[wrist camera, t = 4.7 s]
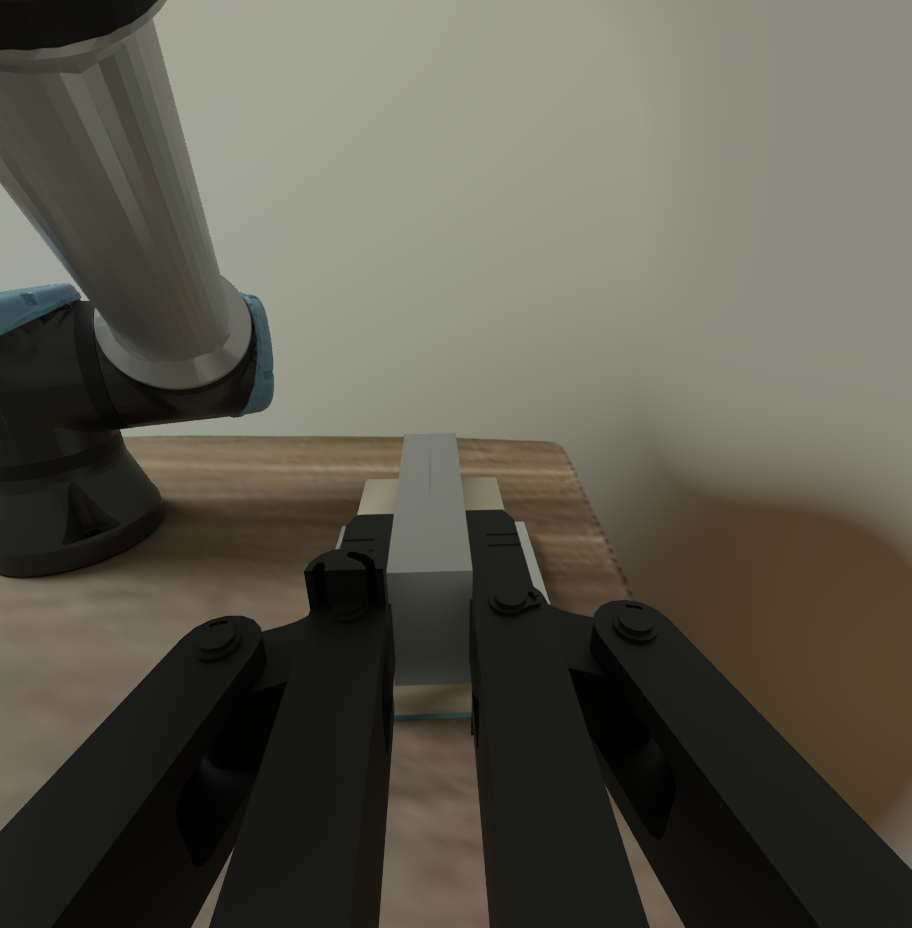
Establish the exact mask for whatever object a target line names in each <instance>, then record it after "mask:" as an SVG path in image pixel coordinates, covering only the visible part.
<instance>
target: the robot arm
mask: <svg viewBox="0 0 912 928" xmlns="http://www.w3.org/2000/svg"><path fill="white" fill-rule="evenodd" d="M166 1H167V0H0V183H1V184H2V186H3V187H4V189H5V190H6V191H7V192H8V194H9V195H10V196H11V198H12V199H13V200H14V202H15V203H16V204H17V205H18V207H19V208H20V210H21V211H22V212H23V214H24V215H25V216H26V217H27V219H28V220H29V221H30V223H31V224H32V225H33V227H34V228H35V229H36V230H37V232H38V233H39V234H40V236H41V237H42V238H43V240H44V241H45V242H46V244H47V245H48V246H49V248H50V249H51V250H52V252H53V253H54V254H55V255H56V257H57V258H58V259H59V261H60V262H61V263H62V265H63V266H64V267H65V269H66V270H67V271H68V273H69V274H70V275H71V277H72V278H73V279H74V280H75V282H76V283H77V284H78V286H79V287H80V288H81V289H82V291H83V292H84V294H85V295H86V296H87V297H88V299H89V300H90V301H81V300H80V298H81V296H80V293H78V292H77V291H76V290H75V288H74V287H73V286H72V285H70V284H55V285H46V286H38V287H31V288H24V289H17V290H11V291H5V292H0V574H1V575H6V576H16V577H29V576H41V575H48V574H55V573H60V572H64V571H69V570H73V569H77V568H80V567H84V566H87V565H90V564H93V563H96V562H99V561H101V560H104V559H107V558H109V557H111V556H114V555H116V554H118V553H120V552H122V551H124V550H126V549H128V548H130V547H132V546H133V545H135V544H137V543H138V542H140V541H141V540H143V539H144V538H146V537H147V536H148V535H149V534H151V533H152V532H153V531H154V530H155V529H156V528H157V527H158V526H159V525H160V523H161V522H162V520H163V518H164V515H165V508H164V505H163V502H162V498H161V495H160V492H159V490H158V488H157V487H156V486H155V485H154V484H153V483H152V482H151V481H150V479H149V478H148V476H147V475H146V474H145V472H144V471H143V470H142V468H141V467H140V466H139V464H138V463H137V462H136V460H135V459H134V458H133V456H132V455H131V454H130V453H129V451H128V450H127V448H126V446H125V444H124V441H123V438H122V435H121V432H120V429H125V428H133V427H142V426H149V425H159V424H168V423H176V422H185V421H193V420H202V419H211V418H220V417H228V416H230V417H233V418H234V417H241V416H244V415H245V414H250V413H256V412H261V411H263V410H265V409H266V408H268V406H269V405H270V404H271V401H272V398H273V391H274V376H273V372H272V371H273V355H272V344H271V337H270V331H269V326H268V320H267V316H266V312H265V309H264V307H263V304H262V303H261V301H260V300H259V299H258V298H257V297H256V296H254V295H246V294H244V293H241V292H238V290H237V289H236V288H235V287H234V286H233V285H232V284H231V283H230V282H229V281H228V280H227V279H225V278H224V277H223V276H221V275H220V272H219V268H218V264H217V261H216V257H215V253H214V249H213V245H212V241H211V238H210V234H209V230H208V226H207V223H206V219H205V215H204V211H203V207H202V203H201V200H200V196H199V192H198V188H197V185H196V181H195V177H194V173H193V169H192V166H191V162H190V158H189V154H188V150H187V147H186V143H185V139H184V135H183V131H182V128H181V124H180V120H179V116H178V113H177V109H176V105H175V101H174V98H173V94H172V90H171V86H170V82H169V78H168V75H167V71H166V68H165V63H164V60H163V56H162V52H161V48H160V44H159V41H158V37H157V33H156V29H155V25H154V22H153V17H154V16H155V15H156V14H157V13H158V12H159V10H160V9H161V8H162V7H163V5H164V4H165V2H166ZM304 575H305V581H306V587H307V593H308V599H309V605H310V612H309V615H308V616H306V617H304V618H303V619H301V620H299V621H297V622H294V623H291V624H288V625H285V626H282V627H278V628H274V629H270V630H267V631H263V632H261V627H260V626H259V625H258V624H257V623H256V622H255V621H254V620H253V619H250V618H247V617H244V616H224V617H221V618H217V619H213V620H210V621H208V622H206V623H204V624H202V625H199V626H197V627H195V628H194V629H193V630H192V631H190V632H189V633H188V634H187V635H185V636H184V637H183V638H182V639H181V640H180V641H179V642H178V643H177V644H176V645H175V646H174V647H173V648H172V649H171V650H170V652H169V653H168V654H167V655H166V656H165V657H164V658H163V659H162V660H161V661H160V662H159V663H158V664H157V665H156V666H155V667H154V669H153V670H152V671H151V672H150V673H149V674H148V675H147V676H146V677H145V678H144V679H143V680H142V681H141V682H140V683H139V684H138V686H137V687H136V688H135V689H134V690H133V691H132V692H131V693H130V694H129V695H128V696H127V697H126V698H125V699H124V700H123V701H122V702H121V704H120V705H119V706H118V707H117V708H116V709H115V710H114V711H113V712H112V713H111V714H110V715H109V716H108V717H107V718H106V719H105V721H104V722H103V723H102V724H101V725H100V726H99V727H98V728H97V729H96V730H95V731H94V732H93V733H92V734H91V735H90V736H89V738H88V739H87V740H86V741H85V742H84V743H83V744H82V745H81V746H80V747H79V748H78V749H77V750H76V751H75V752H74V753H73V755H72V756H71V757H70V758H69V759H68V760H67V761H66V762H65V763H64V764H63V765H62V766H61V767H60V768H59V769H58V770H57V772H56V773H55V774H54V775H53V776H52V777H51V778H50V779H49V780H48V781H47V782H46V783H45V784H44V785H43V786H42V787H41V789H40V790H39V791H38V792H37V793H36V794H35V795H34V796H33V797H32V798H31V799H30V800H29V801H28V802H27V803H26V804H25V806H24V807H23V808H22V809H21V810H20V811H19V812H18V813H17V814H16V815H15V816H14V817H13V818H12V819H11V820H10V821H9V823H8V824H7V825H6V826H5V827H4V828H3V829H2V830H1V831H0V928H191V927H192V925H193V923H194V921H195V919H196V917H197V915H198V914H199V912H200V910H201V908H202V906H203V904H204V902H205V900H206V899H207V897H208V895H209V893H210V891H211V889H212V887H213V885H214V884H215V882H216V880H217V878H218V876H219V874H220V872H221V870H222V869H223V867H224V865H225V863H226V861H227V859H228V857H229V856H230V854H231V852H232V850H233V848H234V850H233V854H232V857H231V860H230V863H229V866H228V869H227V872H226V875H225V879H224V882H223V885H222V888H221V891H220V894H219V897H218V901H217V904H216V907H215V910H214V913H213V916H212V919H211V922H210V926H209V928H379V915H380V902H381V888H382V875H383V861H384V847H385V834H386V820H387V806H388V793H389V779H390V766H391V752H392V738H393V725H394V699H393V685H394V680H395V686H411V685H436V684H460V683H472V712H471V735H474V743H475V755H476V767H477V779H478V791H479V803H480V815H481V827H482V839H483V851H484V863H485V875H486V887H487V899H488V911H489V923H490V928H650V927H649V924H648V921H647V918H646V915H645V911H644V908H643V905H642V902H641V899H640V895H639V892H638V889H637V886H636V883H635V880H634V876H633V873H632V870H631V867H630V864H629V861H628V857H627V854H626V851H625V848H624V845H623V841H622V838H621V835H620V832H619V829H618V826H617V822H616V819H615V816H614V813H613V810H612V806H611V803H610V800H609V797H608V794H607V791H606V787H607V789H608V790H609V792H610V794H611V796H612V798H613V799H614V801H615V803H616V805H617V806H618V808H619V810H620V812H621V814H622V815H623V817H624V819H625V821H626V823H627V824H628V826H629V828H630V830H631V831H632V833H633V835H634V837H635V839H636V840H637V842H638V844H639V846H640V848H641V849H642V851H643V853H644V855H645V856H646V858H647V860H648V862H649V864H650V865H651V867H652V869H653V871H654V873H655V874H656V876H657V878H658V880H659V881H660V883H661V885H662V887H663V889H664V890H665V892H666V894H667V896H668V897H669V899H670V901H671V903H672V905H673V906H674V908H675V910H676V912H677V914H678V915H679V917H680V919H681V921H682V922H683V924H684V926H685V928H912V870H911V869H910V868H909V867H908V866H907V865H906V864H905V863H904V862H903V861H902V860H901V859H900V858H899V856H898V855H897V854H896V853H895V852H894V851H893V850H892V849H891V848H890V847H889V846H888V845H887V844H886V843H885V842H884V841H883V840H882V839H881V838H880V837H879V836H878V835H877V834H876V833H875V832H874V831H873V830H872V829H871V828H870V826H869V825H868V824H867V823H866V822H865V821H864V820H863V819H862V818H861V817H860V816H859V815H858V814H857V813H856V812H855V811H854V810H853V809H852V808H851V807H850V806H849V805H848V804H847V803H846V802H845V801H844V800H843V799H842V798H841V797H840V796H839V795H838V794H837V792H836V791H835V790H834V789H833V788H832V787H831V786H830V785H829V784H828V783H827V782H826V781H825V780H824V779H823V778H822V777H821V776H820V775H819V774H818V773H817V772H816V771H815V770H814V769H813V768H812V767H811V766H810V765H809V764H808V763H807V762H806V760H805V759H804V758H803V757H802V756H801V755H800V754H799V753H798V752H797V751H796V750H795V749H794V748H793V747H792V746H791V745H790V744H789V743H788V742H787V741H786V740H785V739H784V738H783V737H782V736H781V735H780V734H779V733H778V732H777V731H776V730H775V729H774V728H773V726H772V725H771V724H770V723H769V722H768V721H767V720H766V719H765V718H764V717H763V716H762V715H761V714H760V713H759V712H758V711H757V710H756V709H755V708H754V707H753V706H752V705H751V704H750V703H749V702H748V701H747V700H746V699H745V698H744V696H742V694H741V693H740V692H739V691H738V690H737V689H736V688H735V687H734V686H733V685H732V684H731V683H730V682H729V681H728V680H727V679H726V678H725V677H724V676H723V675H722V674H721V673H720V672H719V671H718V670H717V669H716V668H715V667H714V666H713V665H712V663H711V662H710V661H709V660H708V659H707V658H706V657H705V656H704V655H703V654H702V653H701V652H700V651H699V650H698V649H697V648H696V647H695V646H694V645H693V644H692V643H691V642H690V641H689V640H688V639H687V638H686V637H685V636H684V635H683V634H682V633H681V631H679V629H678V628H676V626H675V625H674V624H673V623H672V622H671V621H670V620H669V619H668V618H666V617H665V616H664V615H662V614H661V613H660V612H659V611H657V610H656V609H654V608H652V607H649V606H647V605H645V604H643V603H639V602H633V601H628V600H620V601H611V602H609V603H606V604H604V605H601V606H600V608H599V609H598V610H597V611H596V612H595V614H594V618H592V617H588V616H583V615H578V614H573V613H569V612H566V611H562V610H560V609H557V608H555V607H553V606H551V605H550V604H548V603H547V601H546V599H545V597H544V596H543V594H542V592H541V591H539V590H538V589H537V588H535V587H534V586H533V583H532V579H531V576H530V572H529V569H528V566H527V562H526V559H525V555H524V552H523V549H522V546H521V542H520V538H519V536H518V532H517V528H516V525H515V521H514V520H513V519H512V518H511V517H510V516H509V515H508V514H507V513H506V512H505V511H504V510H503V509H497V510H465V506H464V498H463V490H462V482H461V474H460V466H459V458H458V450H457V442H456V434H454V433H452V434H406V435H405V436H404V443H403V450H402V458H401V466H400V473H399V481H398V488H397V496H396V503H395V511H394V514H364V515H357V516H356V517H355V518H354V519H353V520H352V521H351V522H350V523H349V524H348V525H347V526H346V528H345V531H344V535H343V538H342V542H341V545H340V548H339V549H335V550H332V551H330V552H327V553H324V554H322V555H320V556H319V557H317V558H316V559H314V560H313V561H311V562H310V563H309V565H308V566H307V568H306V569H305V571H304ZM604 783H605V784H604ZM605 785H606V787H605ZM234 846H235V847H234Z"/></svg>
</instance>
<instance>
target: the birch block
mask: <svg viewBox="0 0 912 928" xmlns="http://www.w3.org/2000/svg"><path fill="white" fill-rule="evenodd" d="M398 481H399V479H368V480H366V483H365V487H364V490H363V494H362V498H361V502H360V506H359V510H358V514H357V515H364V514H394V511H395V503H396V496H397V488H398ZM461 482H462V490H463V498H464V506H465V510H497V509H503V510H504V506H503V503H502V499H501V495H500V491H499V487H498V484H497V480H496V477H465V478H461ZM504 511H505V510H504ZM393 699H394V721H400V720H424V719H448V718H471V712H472V683H460V684H436V685H411V686H395V680H394V685H393Z"/></svg>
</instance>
